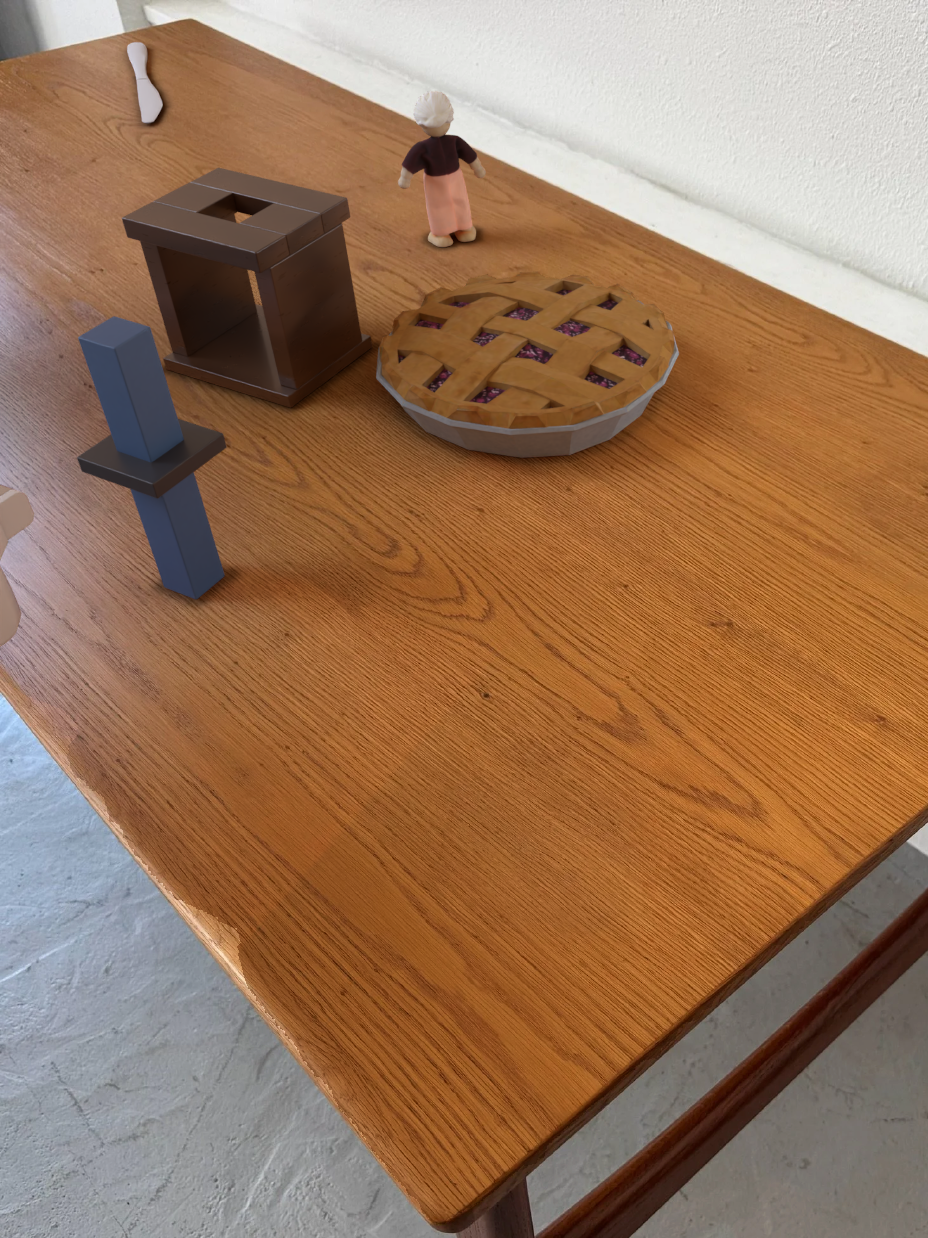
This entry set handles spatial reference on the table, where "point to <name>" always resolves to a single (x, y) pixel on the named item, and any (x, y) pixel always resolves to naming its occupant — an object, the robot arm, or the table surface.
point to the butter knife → (144, 83)
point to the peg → (152, 453)
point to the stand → (221, 290)
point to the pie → (527, 363)
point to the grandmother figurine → (442, 171)
